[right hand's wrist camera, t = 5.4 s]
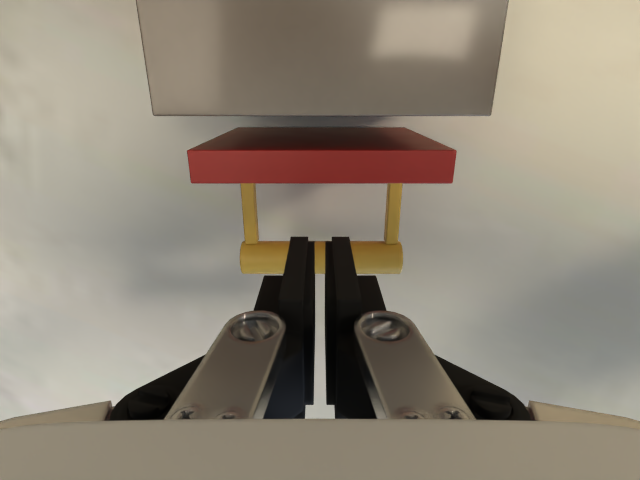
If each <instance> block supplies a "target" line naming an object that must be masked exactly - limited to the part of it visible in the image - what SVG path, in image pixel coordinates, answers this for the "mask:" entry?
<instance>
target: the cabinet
mask: <svg viewBox="0 0 640 480" xmlns="http://www.w3.org/2000/svg"><path fill="white" fill-rule="evenodd" d="M508 1H509V0H136V4H137V11H138V18H139V24H140V31H141V38H142V44H143V51H144V58H145V64H146V71H147V78H148V84H149V91H150V98H151V105H152V111H153V115H154V116H490V115H491V112H492V106H493V99H494V92H495V86H496V79H497V73H498V66H499V60H500V53H501V47H502V40H503V34H504V27H505V21H506V14H507V8H508Z"/></svg>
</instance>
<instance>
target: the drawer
mask: <svg viewBox="0 0 640 480" xmlns="http://www.w3.org/2000/svg"><path fill="white" fill-rule="evenodd" d="M456 152H457V151H456V150H454V149H452V148H450V147H448V146H445V145H443V144H441V143H439V142H436V141H434V140H432V139H429V138H427V137H425V136H423V135H420V134H418V133H416V132H414V131H411V130H409V129H407V128H404V127H238V128H236V129H234V130H231V131H229V132H227V133H225V134H222V135H220V136H218V137H216V138H214V139H211V140H209V141H207V142H205V143H203V144H200V145H198V146H196V147H194V148H191V149H189V150H187V154H188V162H189V170H190V179H191V183H241V196H242V210H243V223H244V236H245V241H243V242H242V244H241V249H240V267H241V271H242V273H243V274H284V269H285V264H286V259H287V254H288V249H289V244H290V241H258V240H259V235H258V219H257V203H256V186H255V183H388V184H387V200H386V215H385V231H384V241H350V244H351V249H352V254H353V259H354V264H355V269H356V274H400V273H401V271H402V266H403V251H402V245H401V243H400V242H399V241H398V233H399V220H400V208H401V195H402V183H452V182H453V175H454V167H455V160H456ZM315 274H325V241H315Z"/></svg>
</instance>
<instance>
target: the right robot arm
mask: <svg viewBox="0 0 640 480" xmlns="http://www.w3.org/2000/svg"><path fill="white" fill-rule="evenodd" d="M314 355H315V241H308V237H291V239H290V244H289V249H288V254H287V259H286V264H285V269H284V274H283V276H264V278H263V281H262V285H261V288H260V291H259V295H258V298H257V301H256V304H255V308H254V311H249V312H245V313H242V314H239V315H236V316H235V317H233V318H232V319H230V320H229V321H228V322H227V323H226V324H225V326H224V327H223V329H222V330H221V332H220V333H219V335H218V337H217V338H216V340H215V341H214V343H213V344H212V346H211V347H210V349H209V350H208V352H207V354H206V355H204V356H202V357H200V358H198V359H196V360H194V361H192V362H190V363H188V364H186V365H184V366H182V367H180V368H178V369H176V370H174V371H172V372H170V373H168V374H166V375H164V376H162V377H160V378H158V379H156V380H154V381H152V382H150V383H148V384H146V385H144V386H142V387H140V388H138V389H136V390H134V391H133V392H131V393H129V394H128V395H126V396H125V397H124V398H123V399H121V400H120V401H119V402H118V403H117V404H116V406H114V407H112V403H111V401H105V402H100V403H94V404H88V405H82V406H77V407H71V408H65V409H59V410H54V411H48V412H42V413H36V414H31V415H25V416H19V417H14V418H10V419H7V420H3V421H0V480H640V421H637V420H633V419H630V418H626V417H621V416H615V415H609V414H604V413H598V412H592V411H586V410H581V409H575V408H569V407H563V406H558V405H552V404H546V403H540V402H535V401H529V403H528V407H526V406H524V404H523V403H522V402H521V401H520V400H519V399H517V398H516V397H515V396H514V395H512V394H511V393H509V392H507V391H506V390H504V389H502V388H500V387H498V386H496V385H494V384H492V383H490V382H488V381H486V380H484V379H482V378H480V377H478V376H476V375H474V374H472V373H470V372H468V371H466V370H464V369H462V368H460V367H458V366H456V365H454V364H452V363H450V362H448V361H446V360H444V359H442V358H440V357H438V356H436V355H434V354H433V352H432V350H431V349H430V347H429V346H428V344H427V343H426V341H425V340H424V338H423V337H422V335H421V333H420V332H419V330H418V329H417V327H416V326H415V324H414V323H413V322H412V321H411V320H410V319H408V318H407V317H405V316H404V315H401V314H398V313H395V312H391V311H386V308H385V304H384V301H383V298H382V295H381V291H380V288H379V285H378V281H377V278H376V276H357V274H356V269H355V264H354V259H353V254H352V249H351V244H350V239H349V237H332V241H325V355H326V402H327V405H335V419H305V405H313V403H314Z"/></svg>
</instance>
